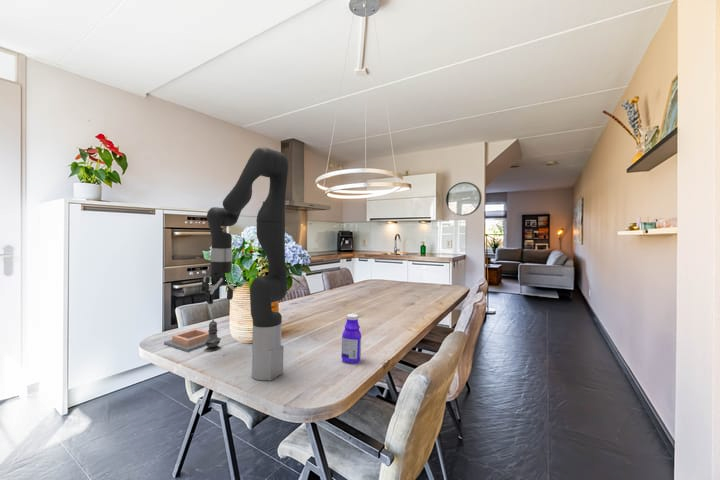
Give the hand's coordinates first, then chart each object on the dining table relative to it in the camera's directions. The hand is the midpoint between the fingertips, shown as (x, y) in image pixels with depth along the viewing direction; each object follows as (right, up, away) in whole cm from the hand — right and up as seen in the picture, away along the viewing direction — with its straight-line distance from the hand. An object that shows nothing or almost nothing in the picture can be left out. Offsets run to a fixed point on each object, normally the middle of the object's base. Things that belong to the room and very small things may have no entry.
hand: (220, 301), depth 112 cm
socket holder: (-17, -20, +11) cm, 28 cm away
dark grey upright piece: (-6, -20, +5) cm, 22 cm away
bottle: (+51, -22, -3) cm, 55 cm away
